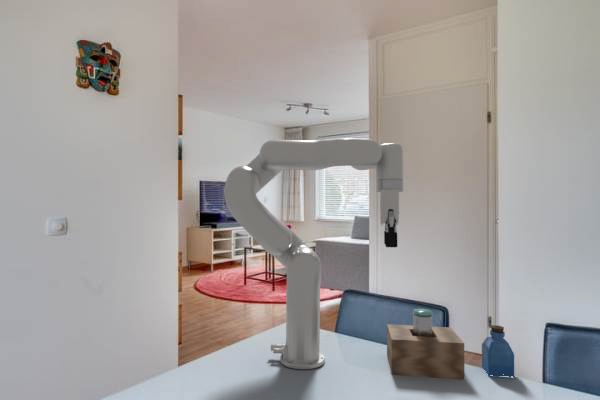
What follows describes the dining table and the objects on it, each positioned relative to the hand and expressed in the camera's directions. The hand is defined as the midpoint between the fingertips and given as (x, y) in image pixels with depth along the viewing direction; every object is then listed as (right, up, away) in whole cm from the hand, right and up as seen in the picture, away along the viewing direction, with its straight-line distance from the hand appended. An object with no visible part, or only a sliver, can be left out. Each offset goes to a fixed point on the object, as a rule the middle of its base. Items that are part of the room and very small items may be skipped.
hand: (390, 245), depth 112 cm
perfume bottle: (+26, -33, -9) cm, 43 cm away
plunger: (+8, -26, -5) cm, 28 cm away
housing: (+7, -32, -6) cm, 34 cm away
